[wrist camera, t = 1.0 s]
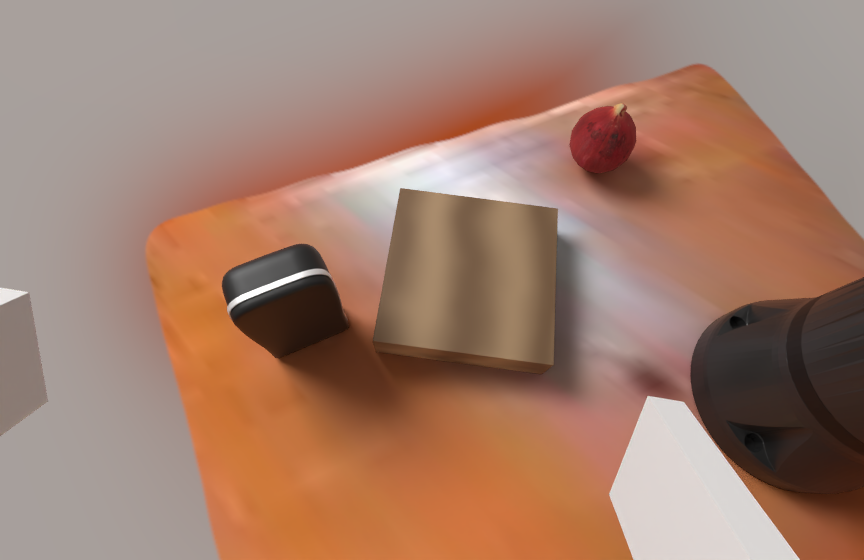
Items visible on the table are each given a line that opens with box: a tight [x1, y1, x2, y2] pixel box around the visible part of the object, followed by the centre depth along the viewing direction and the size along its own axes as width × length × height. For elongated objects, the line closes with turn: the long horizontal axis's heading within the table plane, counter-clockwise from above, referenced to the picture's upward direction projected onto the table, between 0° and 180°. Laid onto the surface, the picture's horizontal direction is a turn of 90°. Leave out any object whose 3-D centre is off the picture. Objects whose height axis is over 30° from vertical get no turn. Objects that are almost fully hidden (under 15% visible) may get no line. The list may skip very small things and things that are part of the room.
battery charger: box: [222, 244, 349, 358], centre depth 35 cm, size 7×4×11 cm, turn 115°
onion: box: [570, 103, 636, 173], centre depth 44 cm, size 6×6×8 cm
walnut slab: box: [373, 188, 558, 374], centre depth 41 cm, size 14×14×4 cm
